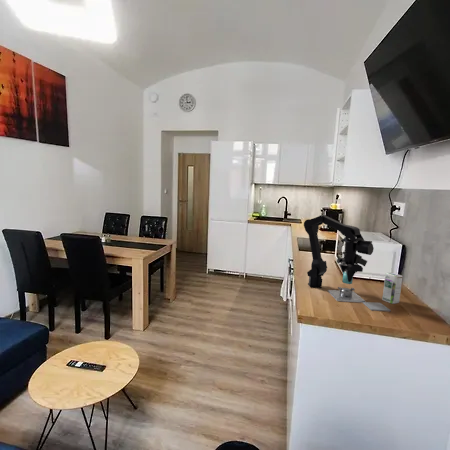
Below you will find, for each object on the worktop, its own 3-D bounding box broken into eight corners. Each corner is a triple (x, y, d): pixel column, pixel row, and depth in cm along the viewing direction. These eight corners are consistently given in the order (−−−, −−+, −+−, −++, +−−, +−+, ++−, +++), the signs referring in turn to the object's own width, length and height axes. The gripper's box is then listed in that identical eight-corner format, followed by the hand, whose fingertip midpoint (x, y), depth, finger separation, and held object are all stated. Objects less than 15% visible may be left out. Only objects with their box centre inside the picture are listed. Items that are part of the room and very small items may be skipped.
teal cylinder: (340, 281, 150) (341, 271, 149) (346, 280, 152) (347, 270, 151) (348, 284, 145) (349, 273, 145) (354, 283, 148) (355, 272, 147)
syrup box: (381, 300, 148) (384, 273, 146) (389, 298, 150) (392, 272, 148) (391, 304, 142) (395, 276, 141) (399, 302, 145) (403, 275, 143)
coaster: (371, 310, 133) (371, 309, 133) (362, 302, 142) (362, 301, 142) (390, 311, 133) (390, 310, 133) (380, 303, 142) (380, 302, 142)
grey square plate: (337, 301, 143) (338, 291, 142) (327, 291, 157) (328, 283, 156) (365, 302, 143) (366, 293, 142) (353, 292, 156) (354, 284, 156)
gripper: (375, 255, 137) (371, 286, 139) (358, 248, 156) (355, 275, 158) (352, 254, 137) (348, 285, 139) (337, 247, 156) (335, 274, 158)
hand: (347, 280), depth 148 cm, fingers closed on teal cylinder, 5 cm apart
